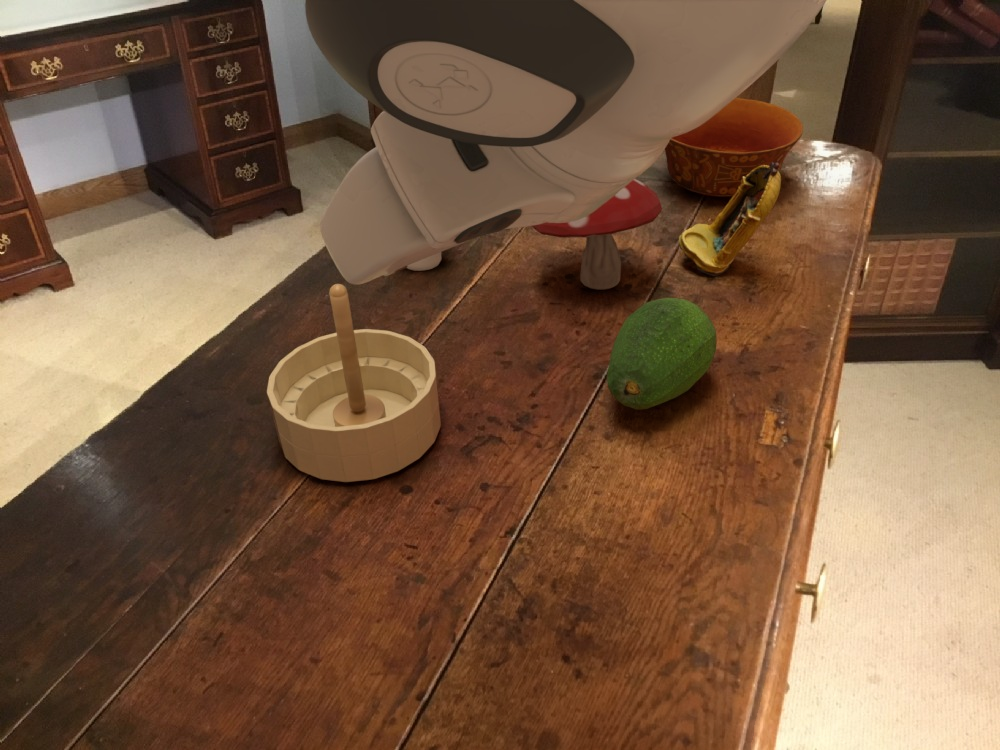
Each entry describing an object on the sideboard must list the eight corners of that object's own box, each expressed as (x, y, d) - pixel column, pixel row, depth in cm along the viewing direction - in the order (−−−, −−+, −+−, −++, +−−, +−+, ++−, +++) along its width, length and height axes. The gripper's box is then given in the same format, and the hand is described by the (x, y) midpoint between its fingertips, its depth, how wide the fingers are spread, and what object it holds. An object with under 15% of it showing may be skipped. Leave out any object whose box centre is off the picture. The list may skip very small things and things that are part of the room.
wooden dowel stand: (377, 444, 84) (354, 302, 74) (328, 439, 85) (299, 298, 75) (393, 411, 88) (373, 272, 78) (345, 406, 89) (320, 268, 79)
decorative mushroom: (518, 306, 105) (515, 193, 96) (544, 245, 117) (543, 140, 108) (649, 319, 101) (658, 204, 92) (661, 255, 114) (670, 147, 105)
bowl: (777, 225, 119) (790, 157, 113) (631, 202, 127) (636, 137, 121) (802, 168, 134) (814, 105, 128) (670, 150, 142) (676, 90, 136)
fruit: (660, 448, 83) (668, 366, 77) (575, 410, 88) (577, 331, 82) (729, 372, 93) (742, 294, 87) (649, 342, 98) (656, 266, 92)
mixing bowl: (416, 495, 79) (408, 438, 75) (254, 475, 82) (238, 420, 78) (457, 389, 92) (452, 336, 88) (315, 375, 95) (305, 323, 91)
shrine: (771, 259, 112) (791, 150, 103) (758, 289, 106) (778, 176, 97) (685, 243, 116) (697, 137, 107) (668, 271, 110) (679, 161, 101)
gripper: (671, 25, 46) (552, 147, 58) (345, 121, 36) (282, 244, 49) (726, 127, 46) (595, 228, 58) (413, 251, 36) (333, 341, 48)
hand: (450, 236), depth 53 cm, fingers open, 8 cm apart
